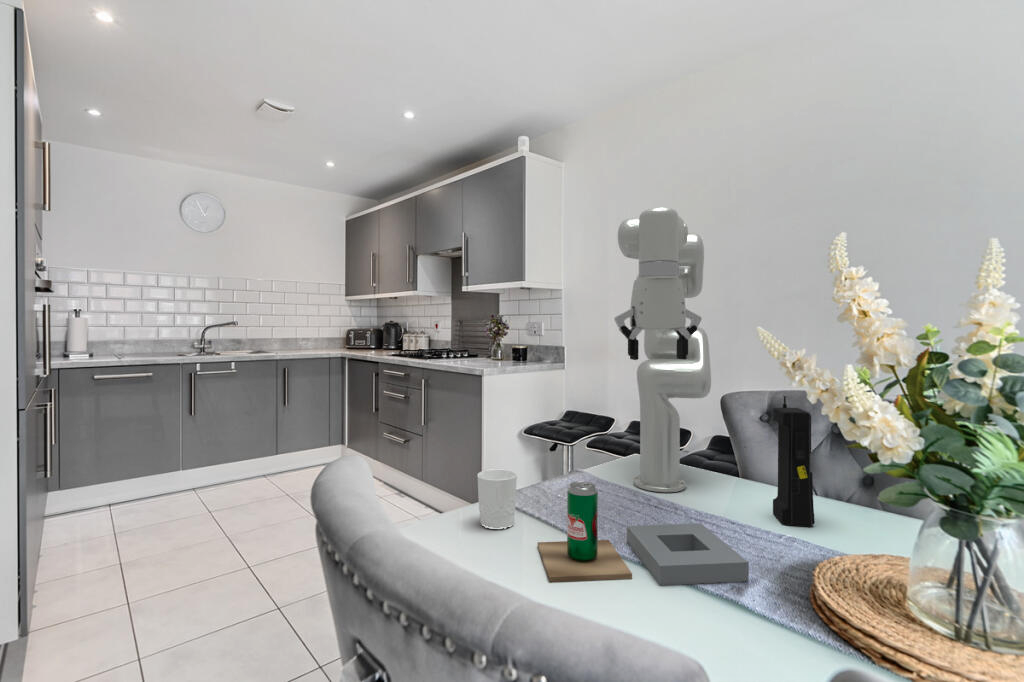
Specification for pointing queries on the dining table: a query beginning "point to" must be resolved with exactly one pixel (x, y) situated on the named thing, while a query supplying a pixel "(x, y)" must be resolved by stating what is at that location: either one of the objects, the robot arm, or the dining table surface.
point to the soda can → (582, 521)
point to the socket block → (686, 554)
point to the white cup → (497, 497)
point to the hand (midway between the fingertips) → (657, 359)
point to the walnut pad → (582, 563)
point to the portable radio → (794, 468)
